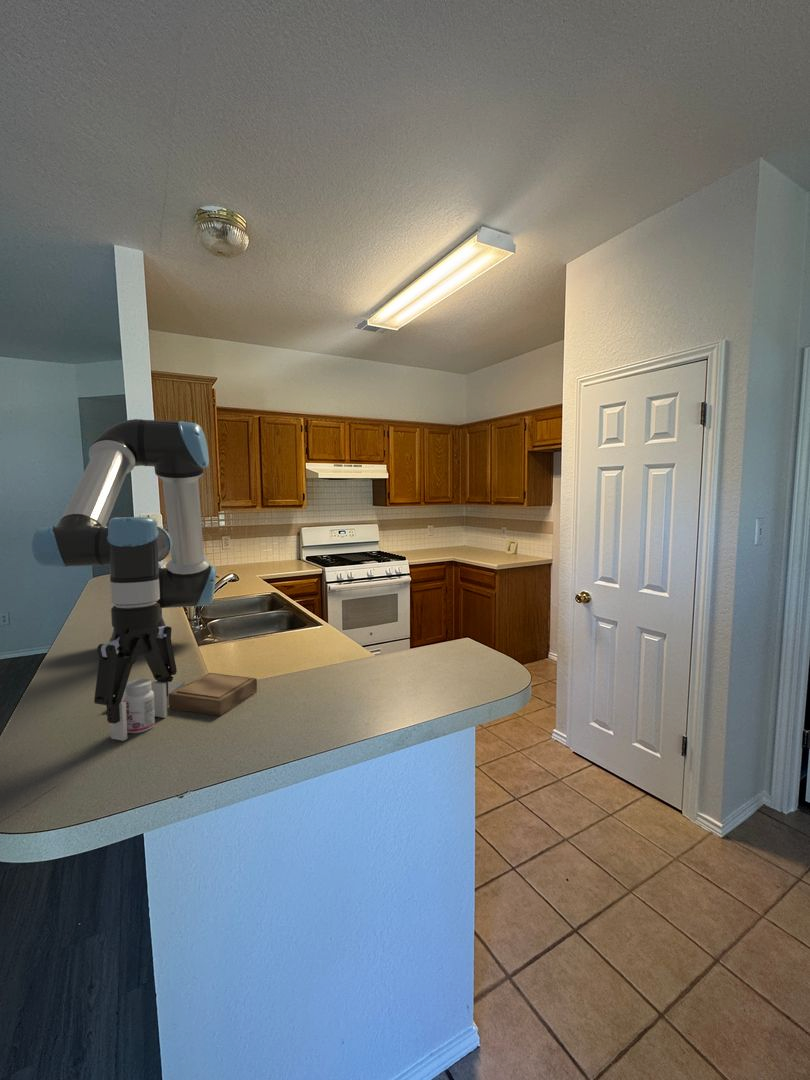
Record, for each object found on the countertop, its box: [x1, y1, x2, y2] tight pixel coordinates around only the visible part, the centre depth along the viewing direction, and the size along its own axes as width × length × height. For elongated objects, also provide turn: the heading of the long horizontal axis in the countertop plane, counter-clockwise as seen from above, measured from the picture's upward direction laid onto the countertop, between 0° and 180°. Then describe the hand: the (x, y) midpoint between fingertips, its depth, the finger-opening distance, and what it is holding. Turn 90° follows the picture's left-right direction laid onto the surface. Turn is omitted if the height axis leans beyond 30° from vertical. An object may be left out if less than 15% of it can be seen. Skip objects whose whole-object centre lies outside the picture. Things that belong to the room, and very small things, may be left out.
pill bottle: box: [124, 678, 156, 734], centre depth 82 cm, size 5×5×8 cm
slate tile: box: [122, 681, 186, 706], centre depth 94 cm, size 10×10×2 cm
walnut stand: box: [168, 672, 258, 717], centre depth 95 cm, size 12×12×3 cm
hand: (140, 726), depth 83 cm, fingers open, 8 cm apart
